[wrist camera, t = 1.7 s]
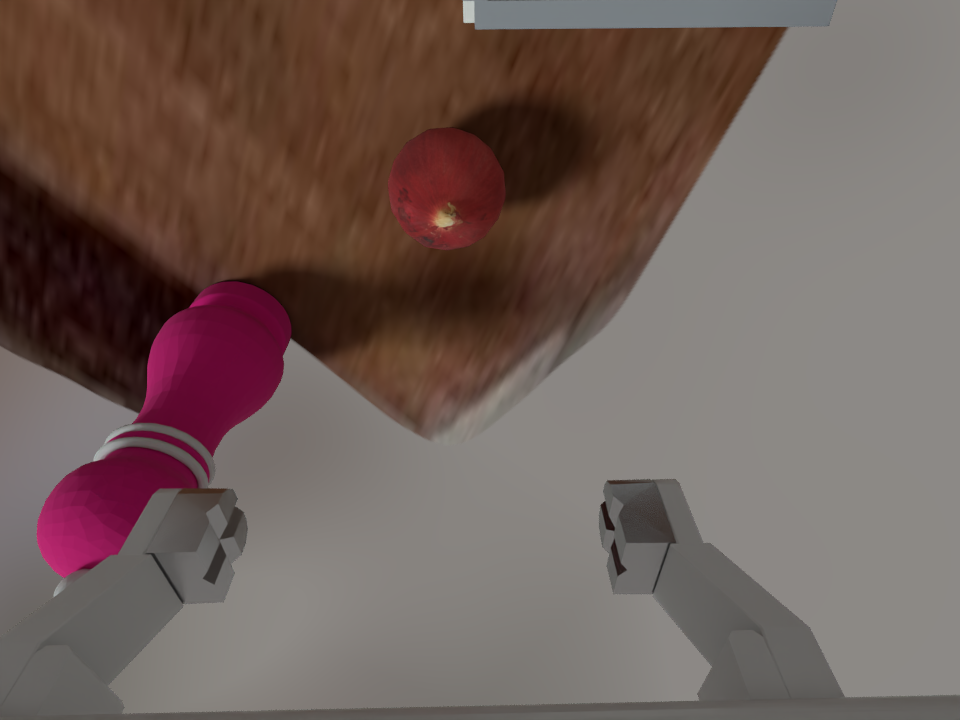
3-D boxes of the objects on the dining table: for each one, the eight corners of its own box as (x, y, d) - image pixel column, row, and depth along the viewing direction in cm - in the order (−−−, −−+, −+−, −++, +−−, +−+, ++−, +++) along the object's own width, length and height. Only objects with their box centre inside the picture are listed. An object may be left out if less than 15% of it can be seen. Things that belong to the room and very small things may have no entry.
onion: (458, 235, 33) (456, 304, 26) (376, 176, 31) (352, 236, 24) (521, 157, 30) (536, 214, 24) (437, 86, 28) (428, 128, 22)
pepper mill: (164, 317, 36) (-76, 613, 20) (228, 251, 33) (7, 532, 17) (257, 380, 39) (114, 676, 23) (322, 325, 37) (209, 617, 21)
